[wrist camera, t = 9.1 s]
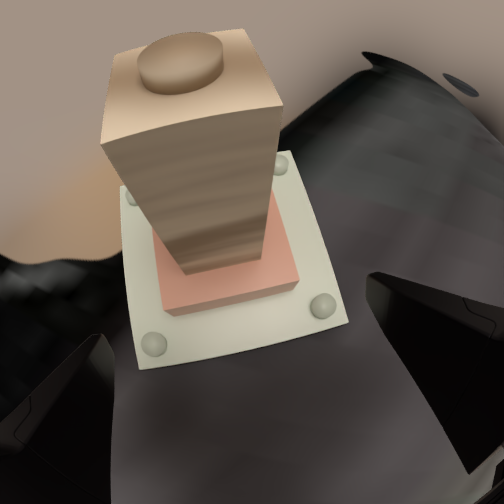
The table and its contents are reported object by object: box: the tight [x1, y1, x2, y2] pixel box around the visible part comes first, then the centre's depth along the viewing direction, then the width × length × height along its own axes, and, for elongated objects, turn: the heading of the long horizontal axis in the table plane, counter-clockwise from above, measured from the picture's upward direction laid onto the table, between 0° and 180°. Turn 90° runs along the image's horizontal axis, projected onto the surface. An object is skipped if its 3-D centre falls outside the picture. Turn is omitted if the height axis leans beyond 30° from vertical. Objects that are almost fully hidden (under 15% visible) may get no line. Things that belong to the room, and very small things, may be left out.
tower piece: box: [100, 29, 283, 276], centre depth 14 cm, size 5×5×14 cm
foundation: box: [120, 151, 349, 370], centre depth 22 cm, size 16×16×4 cm
